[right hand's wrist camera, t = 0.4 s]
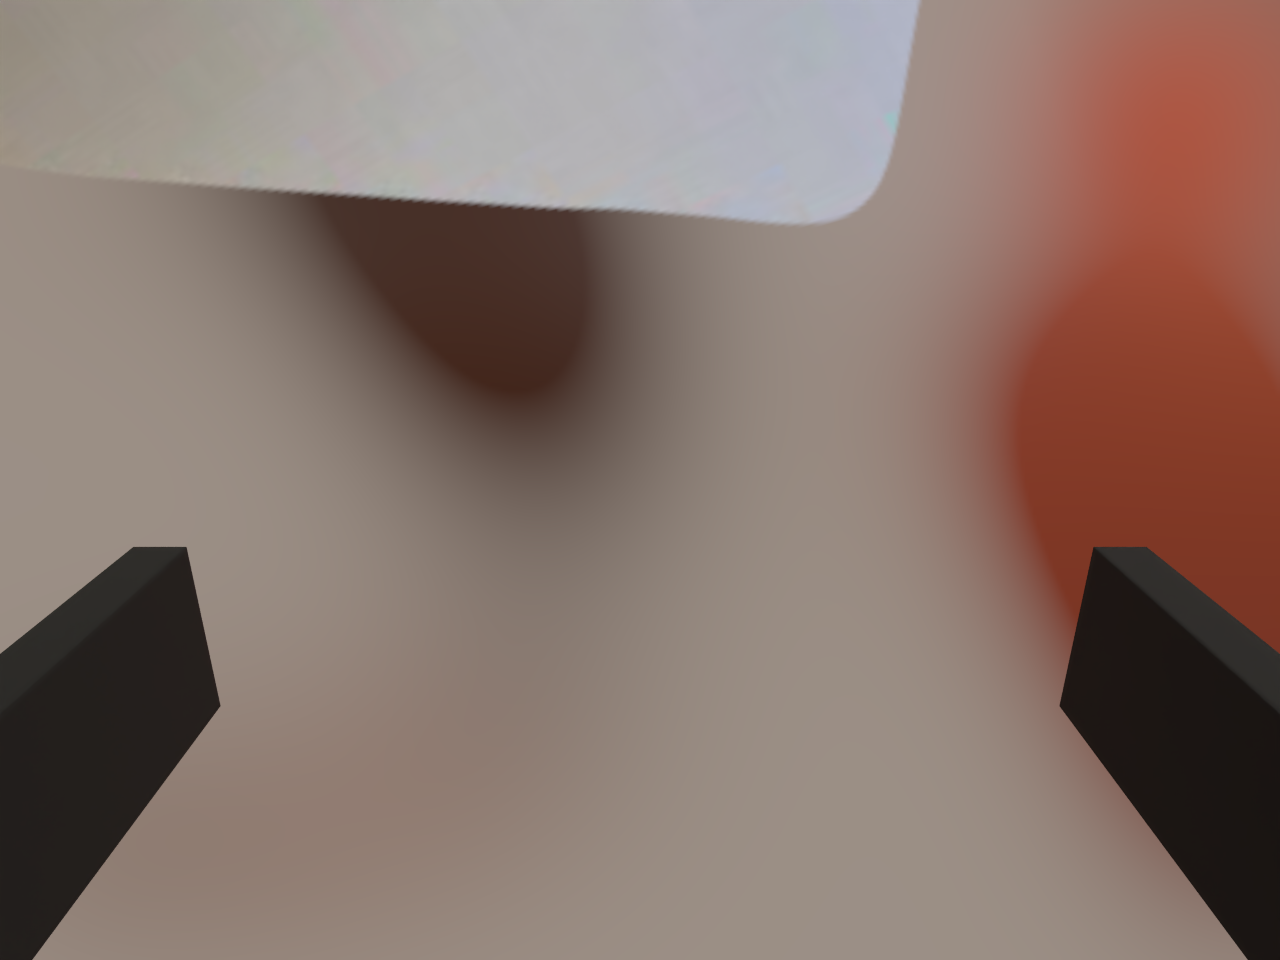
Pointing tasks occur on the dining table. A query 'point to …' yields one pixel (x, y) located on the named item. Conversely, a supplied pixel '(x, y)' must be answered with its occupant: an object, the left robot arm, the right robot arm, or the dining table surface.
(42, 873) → the right robot arm
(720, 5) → the dining table surface
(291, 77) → the dining table surface
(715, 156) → the dining table surface
